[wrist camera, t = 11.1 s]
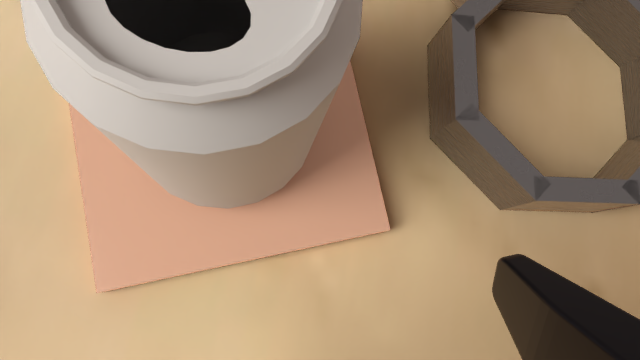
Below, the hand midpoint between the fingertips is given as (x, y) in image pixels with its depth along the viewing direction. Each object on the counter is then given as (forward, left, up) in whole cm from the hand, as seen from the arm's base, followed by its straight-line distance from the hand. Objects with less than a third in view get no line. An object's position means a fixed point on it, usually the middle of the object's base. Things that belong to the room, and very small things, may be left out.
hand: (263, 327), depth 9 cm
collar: (-3, -16, -12) cm, 20 cm away
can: (+6, -4, -12) cm, 14 cm away
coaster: (+6, -4, -12) cm, 15 cm away
